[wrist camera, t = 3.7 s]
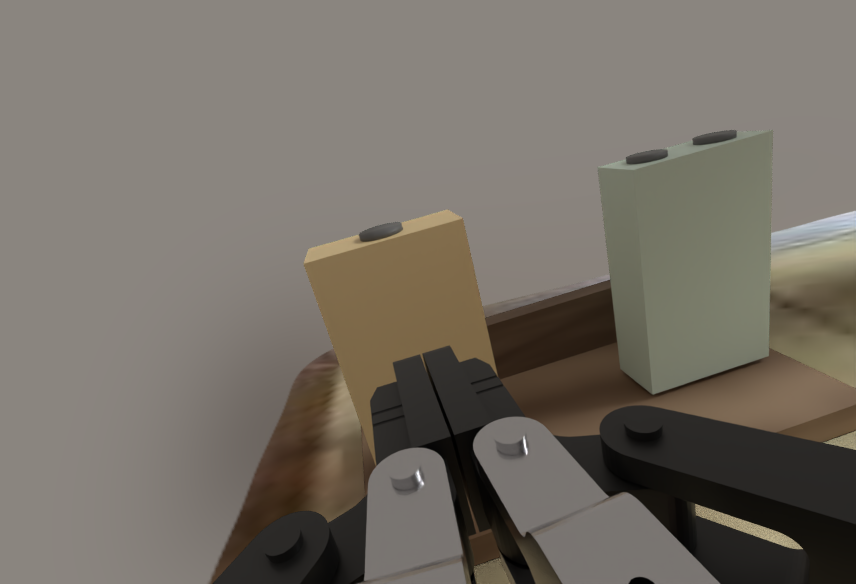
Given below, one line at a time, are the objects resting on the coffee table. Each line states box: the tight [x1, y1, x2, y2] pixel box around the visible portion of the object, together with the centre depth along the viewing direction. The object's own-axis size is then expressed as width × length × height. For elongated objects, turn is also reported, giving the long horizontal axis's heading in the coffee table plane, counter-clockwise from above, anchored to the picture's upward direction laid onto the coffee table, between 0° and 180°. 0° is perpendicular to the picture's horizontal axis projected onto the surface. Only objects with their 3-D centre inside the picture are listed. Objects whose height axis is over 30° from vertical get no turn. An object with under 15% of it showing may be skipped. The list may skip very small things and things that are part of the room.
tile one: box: [304, 210, 498, 465], centre depth 22 cm, size 3×7×12 cm, turn 101°
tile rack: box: [361, 280, 856, 566], centre depth 25 cm, size 12×24×6 cm, turn 101°
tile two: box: [598, 130, 773, 395], centre depth 24 cm, size 3×7×12 cm, turn 101°
